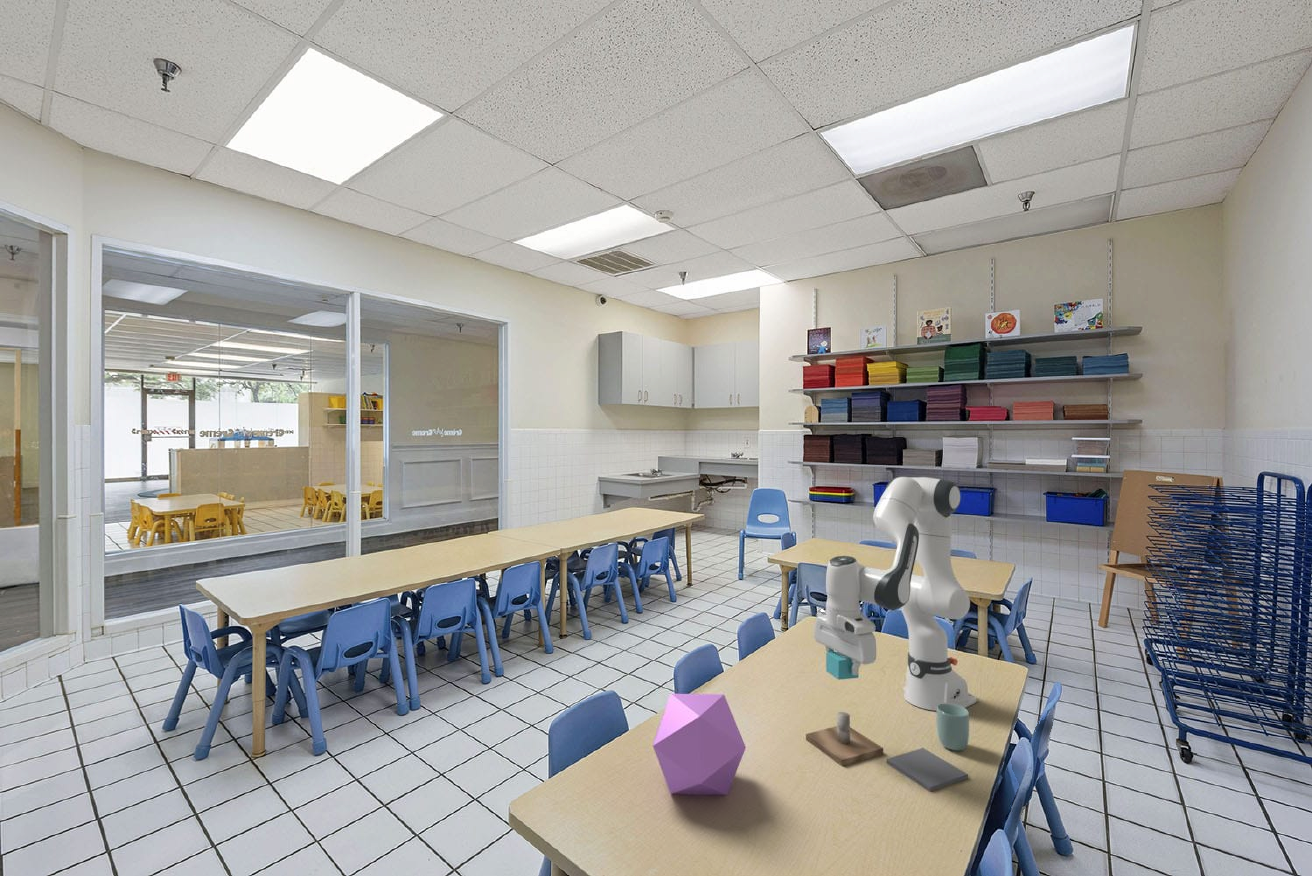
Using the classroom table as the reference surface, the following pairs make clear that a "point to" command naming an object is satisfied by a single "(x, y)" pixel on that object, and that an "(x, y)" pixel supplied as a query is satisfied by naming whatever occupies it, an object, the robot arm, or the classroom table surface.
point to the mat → (927, 769)
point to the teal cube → (839, 665)
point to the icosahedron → (698, 744)
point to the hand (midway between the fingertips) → (843, 668)
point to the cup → (953, 726)
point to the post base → (842, 749)
